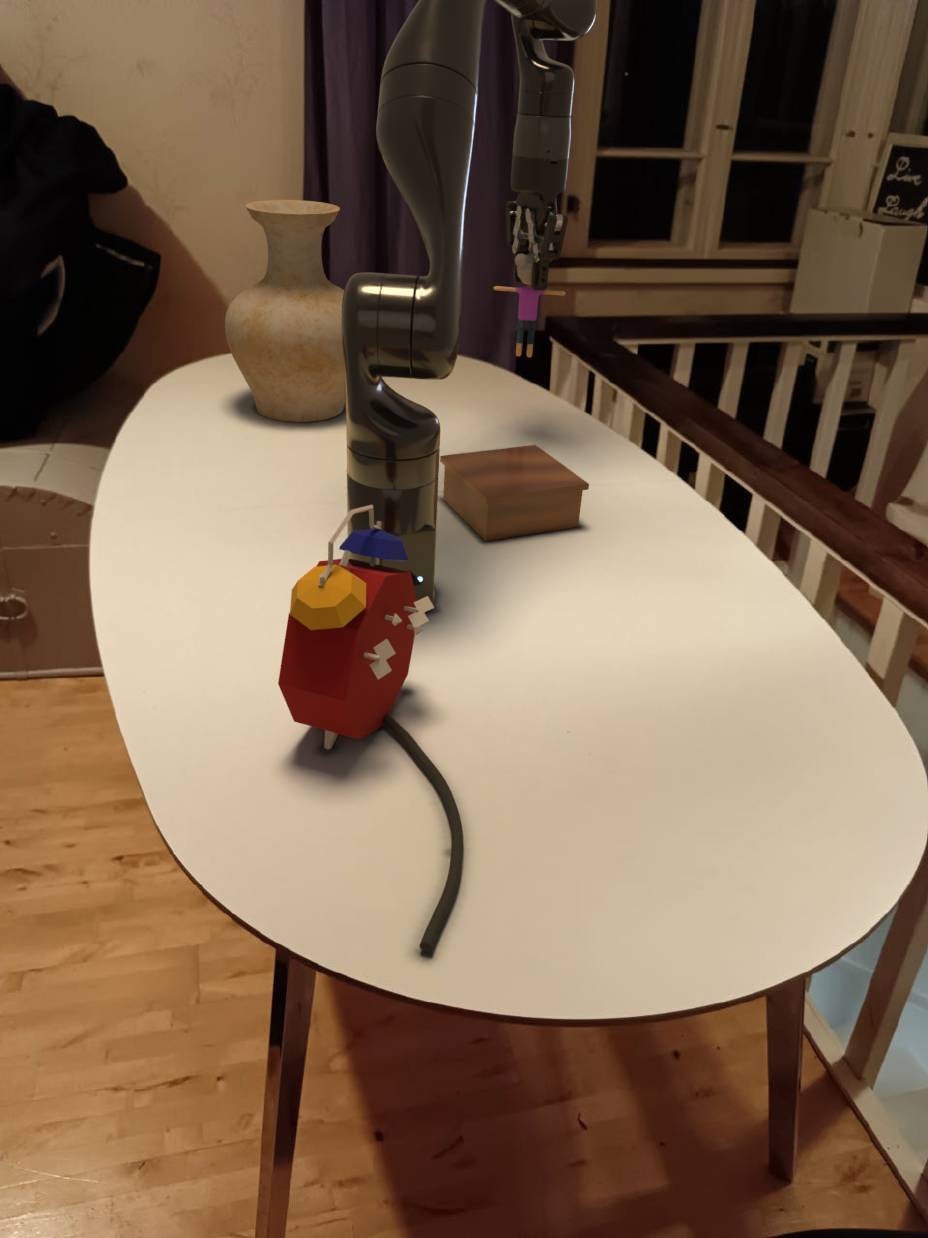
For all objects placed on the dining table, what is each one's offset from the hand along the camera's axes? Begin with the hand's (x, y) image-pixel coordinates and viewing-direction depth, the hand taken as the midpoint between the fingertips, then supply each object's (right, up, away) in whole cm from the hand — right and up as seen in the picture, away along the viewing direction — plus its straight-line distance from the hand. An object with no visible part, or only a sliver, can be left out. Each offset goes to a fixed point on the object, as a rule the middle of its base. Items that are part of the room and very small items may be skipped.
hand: (529, 284), depth 136 cm
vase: (-36, -14, +18) cm, 42 cm away
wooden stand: (-3, -34, -13) cm, 36 cm away
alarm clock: (-18, -57, -52) cm, 79 cm away
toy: (-1, -9, +5) cm, 11 cm away
